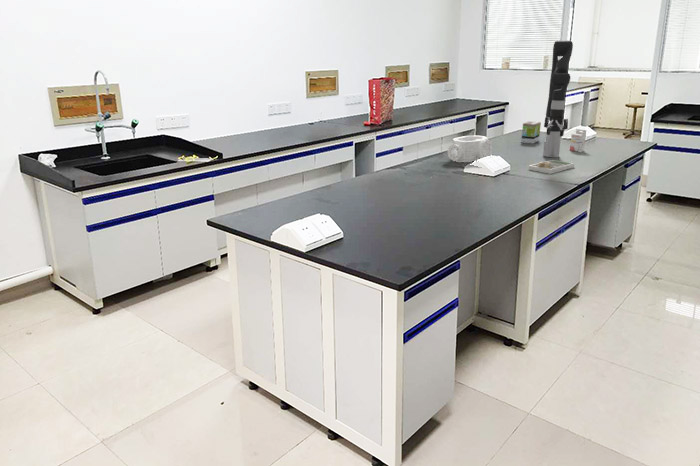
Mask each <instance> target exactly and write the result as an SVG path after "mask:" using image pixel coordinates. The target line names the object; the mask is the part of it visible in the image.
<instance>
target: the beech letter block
mask: <svg viewBox="0 0 700 466" xmlns="http://www.w3.org/2000/svg"><path fill="white" fill-rule="evenodd" d="M537 164H538V167H542V168H547V169H550V164H551V163H550V162H546V161H544V160H543V161H538V163H537Z"/></svg>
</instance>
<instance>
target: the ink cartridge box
mask: <svg viewBox="0 0 700 466" xmlns="http://www.w3.org/2000/svg"><path fill="white" fill-rule="evenodd" d="M586 137H587V130H586V129H579V128H576V129H575V133H571V138H570V145H569V151H571V152H577V151H578V153H581V152H585V145H586V139H587V138H586Z"/></svg>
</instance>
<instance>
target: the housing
mask: <svg viewBox="0 0 700 466" xmlns="http://www.w3.org/2000/svg"><path fill="white" fill-rule="evenodd" d="M492 154H493V143H492V141H491V140H489V139H488V137H487V136H484V135H475V134H474V135H464V136H458V137H454V138H452V144H450V146H448V148H447V156H448V158H449V159H450V160H451V161H452V162H455V161H456V163H461V162H464V163H473V162H472V161H475V160H477V159H480V158H483V157H486V156H490V155H491V156H492ZM491 156H490V157H491Z"/></svg>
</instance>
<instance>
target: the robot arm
mask: <svg viewBox="0 0 700 466" xmlns="http://www.w3.org/2000/svg"><path fill="white" fill-rule="evenodd" d="M573 47H574V45H573V41H571V40H556V41H554V43H553V47H552V63H551V72H550V79H549V88H548V89H549V90H548V98H547V99H548V100H547V105H546V110H545V111H546V112H545V118H544V125H543V127H544V128H546V136H545V141H544V144H543V153H542V155H543V157H546V158H558V157H559V156H560V149H561V139H562V137H563V136H564V134H565V130H568V128H569V127H568V126H569V118H564V115H565V106H566V105H565V104H566V94H567V93H566V92H567V89H568V86H569V84H570V81H571V74H570V73H568V71H569V65H570V61H571V57H572V54H573ZM559 57H561V58H560V59H559Z"/></svg>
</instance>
